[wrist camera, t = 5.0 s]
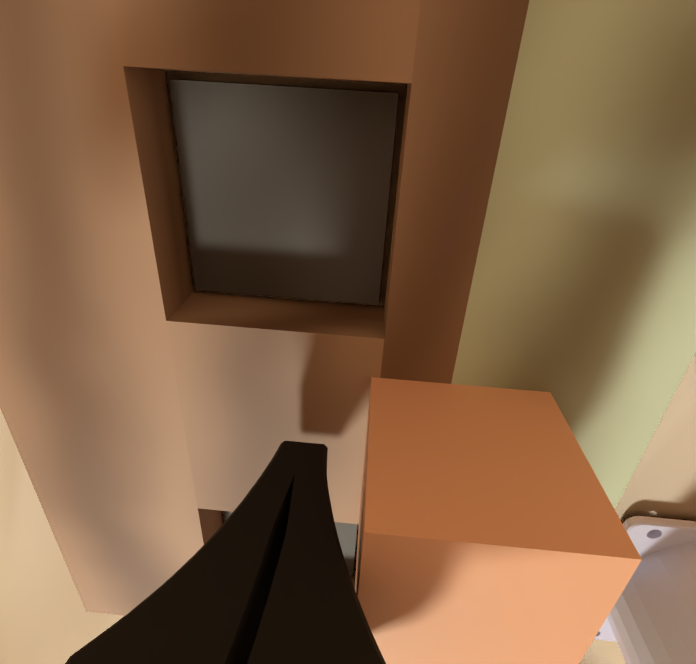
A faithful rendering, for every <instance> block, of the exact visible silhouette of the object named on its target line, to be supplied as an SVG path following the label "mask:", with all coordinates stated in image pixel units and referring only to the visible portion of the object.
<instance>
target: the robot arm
mask: <svg viewBox="0 0 696 664" xmlns="http://www.w3.org/2000/svg"><path fill="white" fill-rule="evenodd" d="M327 455H328V447H327V446H326V445H324V444H317V443H306V442H295V441H283V442H282V443H281V444H280V446H279V448H278V450H277V451H276V453H275V455H274V456H273V458H272V460H271V461H270V463H269V464H268V466H267V467H266V469H265V470H264V472H263V473H262V475H261V476H260V478H259V479H258V480H257V482H256V483H255V484H254V486H253V487H252V488H251V490H250V491H249V492H248V494H247V495H246V497H245V498H244V499H243V500H242V502H241V503H240V504H239V505H238V507H237V508H236V509H235V510H234V511H233V513H232V514H231V515H230V516H229V517H228V519H227V520H226V521H225V522H224V523H223V525H222V526H221V527H220V528H219V529H218V530H217V531H216V532H215V534H214V535H213V536H212V537H211V538H210V539H209V540H208V541H207V542H206V543H205V544H204V545H203V546H202V547H201V548H200V549H199V550H198V551H197V552H196V553H195V554H194V555H193V556H192V557H191V558H190V559H189V560H188V561H187V562H186V563H185V564H184V565H183V566H182V567H181V568H180V569H179V570H178V571H177V572H176V573H175V574H174V575H173V576H171V577H170V578H169V579H168V580H167V581H166V582H165V583H164V584H163V585H161V586H160V587H159V588H158V589H157V590H156V591H154V592H153V593H152V594H151V595H150V596H148V597H147V598H146V599H145V600H144V601H142V602H141V603H140V604H139V605H138V606H136V607H135V608H134V609H133V610H132V611H130V612H129V613H128V614H127V615H125V616H124V617H123V618H122V619H120V620H119V621H118V622H116V623H115V624H114V625H112V626H111V627H110V628H108V629H107V630H106V631H104V632H103V633H102V634H100V635H99V636H97V637H96V638H95V639H93V640H92V641H91V642H89V643H88V644H87V645H85V646H84V647H83V648H81V649H80V650H78V651H77V652H76V653H74V654H73V655H72V656H70V658H69V659H68V660H67V662H66V663H65V664H386V662H385V660H384V658H383V656H382V654H381V652H380V649H379V647H378V645H377V643H376V640H375V638H374V636H373V634H372V632H371V629H370V627H369V624H368V622H367V619H366V617H365V614H364V612H363V609H362V607H361V604H360V602H359V599H358V597H357V594H356V592H355V589H354V586H353V583H352V580H351V577H350V575H349V572H348V569H347V565H346V562H345V559H344V556H343V552H342V549H341V545H340V542H339V538H338V534H337V530H336V526H335V522H334V517H333V513H332V507H331V501H330V496H329V490H328V481H327ZM623 526H624V528H625V529H626V531H627V533H628V535H629V537H630V539H631V540H632V542H633V544H634V546H635V548H636V550H637V551H638V553H639V555H640V557H641V559H642V560H641V562H640V564H639V565H638V567H637V569H636V570H635V572H634V574H633V575H632V577H631V579H630V580H629V582H628V584H627V585H626V587H625V589H624V590H623V592H622V594H621V595H620V597H619V599H618V600H617V602H616V603H615V605H614V607H613V608H612V610H611V612H610V613H609V615H608V617H607V618H606V620H605V622H604V623H603V625H602V627H601V628H600V630H599V632H598V633H597V635H596V637H595V638H594V639H597V640H606V641H615V642H617V644H618V646H619V649H620V651H621V653H622V656H623V658H624V661H625V663H626V664H696V521H687V520H677V519H667V518H656V517H646V516H634V517H630V518H628V519H627V520H626V521H625V522H624V523H623Z"/></svg>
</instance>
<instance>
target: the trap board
mask: <svg viewBox="0 0 696 664" xmlns="http://www.w3.org/2000/svg"><path fill="white" fill-rule="evenodd" d="M165 70H176V71H193V72H210V73H227V74H243V75H260V76H277V77H294V78H311V79H328V80H345V81H362V82H378V83H395V84H407V93H406V103H405V113H404V122H403V132H402V142H401V152H400V161H399V171H398V181H397V190H396V200H395V210H394V220H393V229H392V239H391V249H390V258H389V268H388V278H387V288H386V297H385V307H380V306H368V305H355V304H342V303H330V302H317V301H305V300H292V299H280V298H267V297H255V296H242V295H230V294H217V293H205V292H194V289H193V281H192V273H191V266H190V258H189V250H188V242H187V235H186V227H185V219H184V211H183V204H182V196H181V188H180V180H179V173H178V165H177V157H176V149H175V142H174V134H173V126H172V118H171V111H170V103H169V95H168V87H167V80H166V72H165ZM169 83H170V90H171V98H172V106H173V114H174V122H175V130H176V138H177V146H178V154H179V162H180V170H181V177H182V185H183V193H184V201H185V209H186V217H187V225H188V233H189V241H190V249H191V256H192V264H193V272H194V280H195V288H196V290H201V291H213V292H226V293H238V294H251V295H264V296H276V297H289V298H301V299H314V300H326V301H339V302H351V303H364V304H377V305H378V304H379V294H380V283H381V273H382V262H383V252H384V241H385V231H386V220H387V210H388V199H389V189H390V178H391V168H392V157H393V147H394V136H395V126H396V115H397V105H398V94H399V93H388V92H372V91H355V90H339V89H322V88H305V87H289V86H272V85H255V84H239V83H222V82H206V81H189V80H172V79H169ZM695 353H696V0H0V408H1V410H2V413H3V415H4V418H5V420H6V422H7V425H8V427H9V429H10V432H11V434H12V437H13V439H14V441H15V444H16V446H17V448H18V451H19V453H20V456H21V458H22V460H23V463H24V465H25V467H26V470H27V472H28V475H29V477H30V479H31V482H32V484H33V486H34V489H35V491H36V493H37V496H38V498H39V501H40V503H41V505H42V508H43V510H44V512H45V515H46V517H47V520H48V522H49V524H50V527H51V529H52V531H53V534H54V536H55V539H56V541H57V543H58V546H59V548H60V550H61V553H62V555H63V558H64V560H65V562H66V565H67V567H68V569H69V572H70V574H71V577H72V579H73V581H74V584H75V586H76V588H77V591H78V593H79V596H80V598H81V600H82V603H83V605H84V607H85V610H86V611H89V612H98V613H107V614H116V615H127V614H128V613H129V612H130V611H132V610H133V609H134V608H135V607H136V606H138V605H139V604H140V603H141V602H142V601H144V600H145V599H146V598H147V597H148V596H150V595H151V594H152V593H153V592H154V591H156V590H157V589H158V588H159V587H160V586H161V585H163V584H164V583H165V582H166V581H167V580H168V579H169V578H170V577H171V576H173V575H174V574H175V573H176V572H177V571H178V570H179V569H180V568H181V567H182V566H183V565H184V564H185V563H186V562H187V561H188V560H189V559H190V558H191V557H192V556H193V555H194V554H195V553H196V552H197V551H198V550H199V549H200V548H201V547H202V546H203V545H204V544H205V543H206V542H207V541H208V540H209V539H210V538H211V537H212V536H213V535H214V534H215V532H216V531H217V530H218V529H219V528H220V527H221V526H222V525H223V523H224V521H223V514H222V511H224V517H225V521H226V520H227V519H228V517H229V516H230V515H231V514H232V513H233V511H234V510H235V509H236V508H237V507H238V505H239V504H240V503H241V502H242V500H243V499H244V498H245V497H246V495H247V494H248V492H249V491H250V490H251V488H252V487H253V486H254V484H255V483H256V482H257V480H258V479H259V478H260V476H261V475H262V473H263V472H264V470H265V469H266V467H267V466H268V464H269V463H270V461H271V460H272V458H273V456H274V455H275V453H276V451H277V450H278V448H279V446H280V444H281V443H282V442H283V441H295V442H306V443H317V444H324V445H326V446H327V447H328V455H327V481H328V490H329V496H330V501H331V507H332V513H333V517H334V522H335V526H336V530H337V534H338V538H339V542H340V545H341V549H342V552H343V556H344V559H345V562H346V565H347V569H348V572H349V575H350V577H351V580H352V583H353V586H354V589H355V577H356V573H353V567H354V556H355V546H356V535H357V525H358V524H359V511H360V496H361V485H362V474H363V464H364V453H365V442H366V431H367V421H368V410H369V399H370V388H371V377H375V378H387V379H399V380H411V381H423V382H434V383H446V384H458V385H470V386H482V387H494V388H506V389H518V390H529V391H541V392H551V394H552V396H553V398H554V400H555V401H556V403H557V405H558V407H559V409H560V411H561V412H562V414H563V416H564V418H565V420H566V422H567V423H568V425H569V427H570V429H571V431H572V433H573V434H574V436H575V438H576V440H577V442H578V444H579V445H580V447H581V449H582V451H583V453H584V454H585V456H586V458H587V460H588V462H589V464H590V465H591V467H592V469H593V471H594V473H595V475H596V476H597V478H598V480H599V482H600V484H601V486H602V487H603V489H604V491H605V493H606V495H607V497H608V498H609V500H610V502H611V504H612V506H613V508H614V509H615V508H616V506H617V504H618V502H619V501H620V499H621V497H622V495H623V493H624V491H625V489H626V487H627V485H628V483H629V481H630V479H631V477H632V475H633V473H634V471H635V469H636V467H637V466H638V464H639V462H640V460H641V458H642V456H643V454H644V452H645V450H646V448H647V446H648V444H649V442H650V440H651V438H652V436H653V434H654V432H655V430H656V429H657V427H658V425H659V423H660V421H661V419H662V417H663V415H664V413H665V411H666V409H667V407H668V405H669V403H670V401H671V399H672V397H673V395H674V394H675V392H676V390H677V388H678V386H679V384H680V382H681V380H682V378H683V376H684V374H685V372H686V370H687V368H688V366H689V364H690V362H691V360H692V359H693V357H694V355H695Z"/></svg>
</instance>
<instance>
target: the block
mask: <svg viewBox="0 0 696 664" xmlns="http://www.w3.org/2000/svg"><path fill="white" fill-rule="evenodd" d="M641 560H642V559H641V557H640V555H639V553H638V551H637V550H636V548H635V546H634V544H633V542H632V540H631V539H630V537H629V535H628V533H627V531H626V529H625V528H624V526H623V524H622V522H621V520H620V519H619V517H618V515H617V513H616V511H615V509H614V508H613V506H612V504H611V502H610V500H609V498H608V497H607V495H606V493H605V491H604V489H603V487H602V486H601V484H600V482H599V480H598V478H597V476H596V475H595V473H594V471H593V469H592V467H591V465H590V464H589V462H588V460H587V458H586V456H585V454H584V453H583V451H582V449H581V447H580V445H579V444H578V442H577V440H576V438H575V436H574V434H573V433H572V431H571V429H570V427H569V425H568V423H567V422H566V420H565V418H564V416H563V414H562V412H561V411H560V409H559V407H558V405H557V403H556V401H555V400H554V398H553V396H552V394H551V392H541V391H529V390H518V389H506V388H494V387H482V386H470V385H458V384H446V383H434V382H423V381H411V380H399V379H387V378H375V377H371V388H370V399H369V410H368V421H367V431H366V442H365V453H364V464H363V474H362V485H361V496H360V511H359V528H358V544H357V561H356V577H355V592H356V594H357V597H358V599H359V602H360V604H361V607H362V609H363V612H364V614H365V617H366V619H367V622H368V624H369V627H370V629H371V632H372V634H373V636H374V638H375V640H376V643H377V645H378V647H379V649H380V652H381V654H382V656H383V658H384V660H385V662H386V664H579V663H580V661H581V660H582V658H583V657H584V655H585V653H586V652H587V650H588V648H589V647H590V645H591V643H592V642H593V640H594V638H595V637H596V635H597V633H598V632H599V630H600V628H601V627H602V625H603V623H604V622H605V620H606V618H607V617H608V615H609V613H610V612H611V610H612V608H613V607H614V605H615V603H616V602H617V600H618V599H619V597H620V595H621V594H622V592H623V590H624V589H625V587H626V585H627V584H628V582H629V580H630V579H631V577H632V575H633V574H634V572H635V570H636V569H637V567H638V565H639V564H640V562H641Z"/></svg>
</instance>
